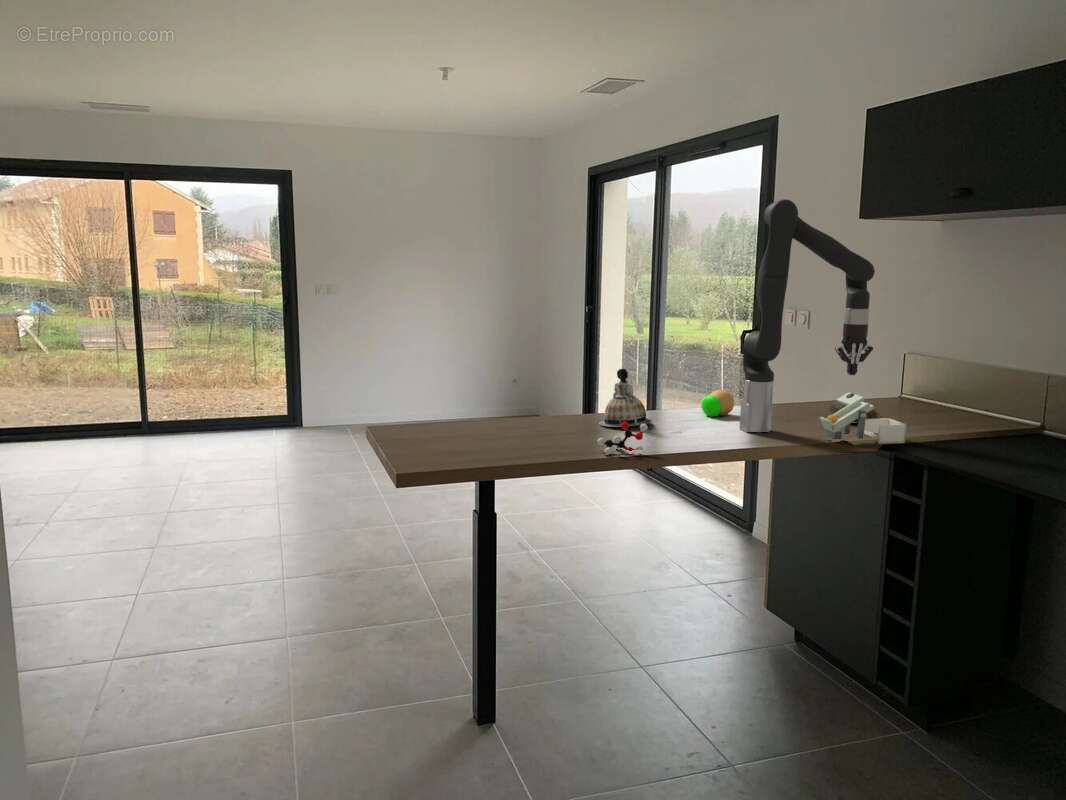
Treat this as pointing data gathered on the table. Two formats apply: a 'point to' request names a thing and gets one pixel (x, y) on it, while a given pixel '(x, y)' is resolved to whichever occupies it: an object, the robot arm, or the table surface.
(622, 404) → the figurine
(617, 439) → the molecular model
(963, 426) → the table surface
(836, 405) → the turtle shell
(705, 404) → the green and tan spheres
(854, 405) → the lever
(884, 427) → the white open box
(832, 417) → the ball
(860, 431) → the fulcrum
